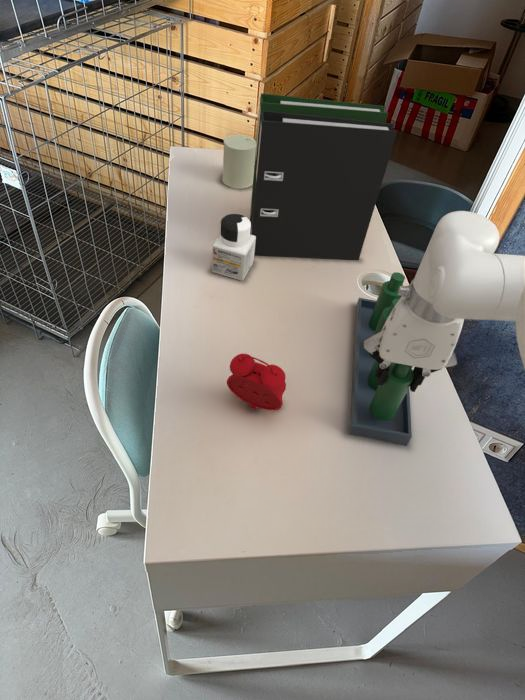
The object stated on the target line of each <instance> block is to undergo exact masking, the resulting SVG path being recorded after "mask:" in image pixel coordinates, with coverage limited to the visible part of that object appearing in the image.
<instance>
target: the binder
mask: <svg viewBox="0 0 525 700" xmlns="http://www.w3.org/2000/svg"><path fill="white" fill-rule="evenodd" d="M385 109H386V105H378V104H368V103H358V102H349V101H338V100H330V99H319V98H310V97H301V96H291V95H283V94H272V93H260V97H259V109H258V120H257V121H258V122H257V131H256V153H255V164H254V176H253V185H252V186H251V199H250V211H249V220H250V222H251V229H250V235H254V236H256V243H255V252H254V257H273V258H276V257H277V258H299V259H317V260H318V259H319V260H320V259H321V260H338V261H339V260H341V261H359V260H360V257H361V254H362V250H363V247H364V243H365V240H366V237H367V234H368V230H369V227H370V223H371V221H372V217H373V214H374V210H375V207H376V203H377V201H378V197H379V194H380V191H381V187H382V184H383V181H384V177H385V174H386V171H387V167H388V165H389V160H390V157H391V154H392V150H393V147H394V144H395V142H396V138H397V135H398V130H393V129H394V123H390V122H387V119H388V116H389V112H387V111H385Z"/></svg>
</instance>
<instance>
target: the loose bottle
mask: <svg viewBox="0 0 525 700" xmlns="http://www.w3.org/2000/svg"><path fill="white" fill-rule="evenodd" d="M413 368H414V366H409V365H404V364H399V363H394V362H392V363H391V364H390V365H389V373H388V375H387V377H386V379H385V381H384V383H383V385H379V386H378V388H377V390H376V392H375V395H374V397H373V399H372V401H371V404H370V411H371V413H372V415H373V416H374V417H376V418H377V419H380V420H384V421H387V420H390V419H392V418H393V417H394V416H395V414H396V412H397V410H398V408H399V406H400V404H401V402H402V400H403V398H404V396H405V395H406V393H407V391H408V389H409V390H410V385H411V383H412V381H413V379H414V372H413Z"/></svg>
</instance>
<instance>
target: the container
mask: <svg viewBox="0 0 525 700" xmlns="http://www.w3.org/2000/svg"><path fill="white" fill-rule="evenodd" d="M250 229H251V222H250V218H248V217H247V216H245V215H243V214H240V213H229V214H226V215H224V216H223V217H222V218H221V220H220V234H219V236H218V237H217V238H216V239H215V241H214V243H213V244H212V256H211V258H212V259H211V261H212V262H211V272H212V273H214V274H218V275H221V276H223V277H224V276H225V277H228V278H232V279H235V280H238V281H244V280H245V278H246V276H247V274H248V273H249V271H250V269H251V268H252V266H253V264H254V261H255V256H254V252H255V243H256V236H254V235H250Z"/></svg>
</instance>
